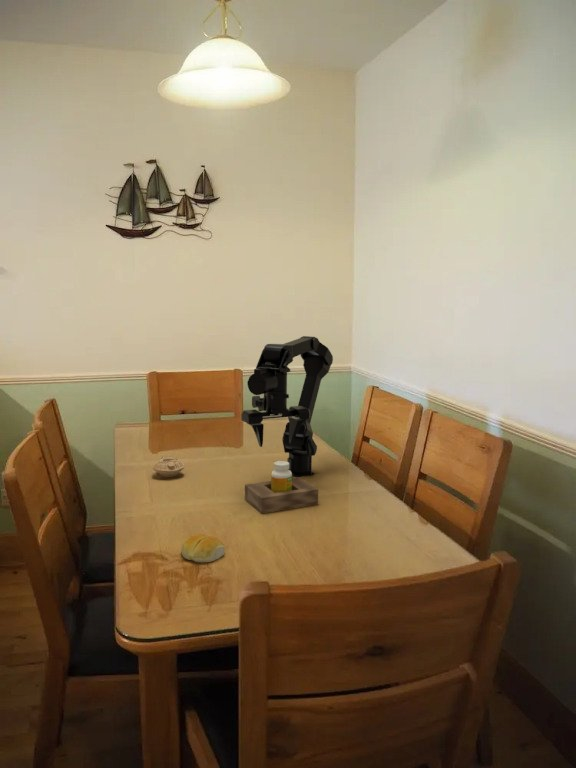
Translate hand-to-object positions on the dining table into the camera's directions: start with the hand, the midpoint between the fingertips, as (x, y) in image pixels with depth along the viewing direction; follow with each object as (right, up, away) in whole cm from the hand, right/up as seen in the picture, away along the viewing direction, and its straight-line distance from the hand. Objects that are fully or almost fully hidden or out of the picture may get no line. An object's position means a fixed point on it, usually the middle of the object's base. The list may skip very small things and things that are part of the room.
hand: (275, 444), depth 168 cm
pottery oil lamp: (-32, -10, +12) cm, 36 cm away
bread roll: (-14, -19, -41) cm, 48 cm away
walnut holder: (+2, -14, -10) cm, 17 cm away
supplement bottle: (+2, -13, -10) cm, 17 cm away
